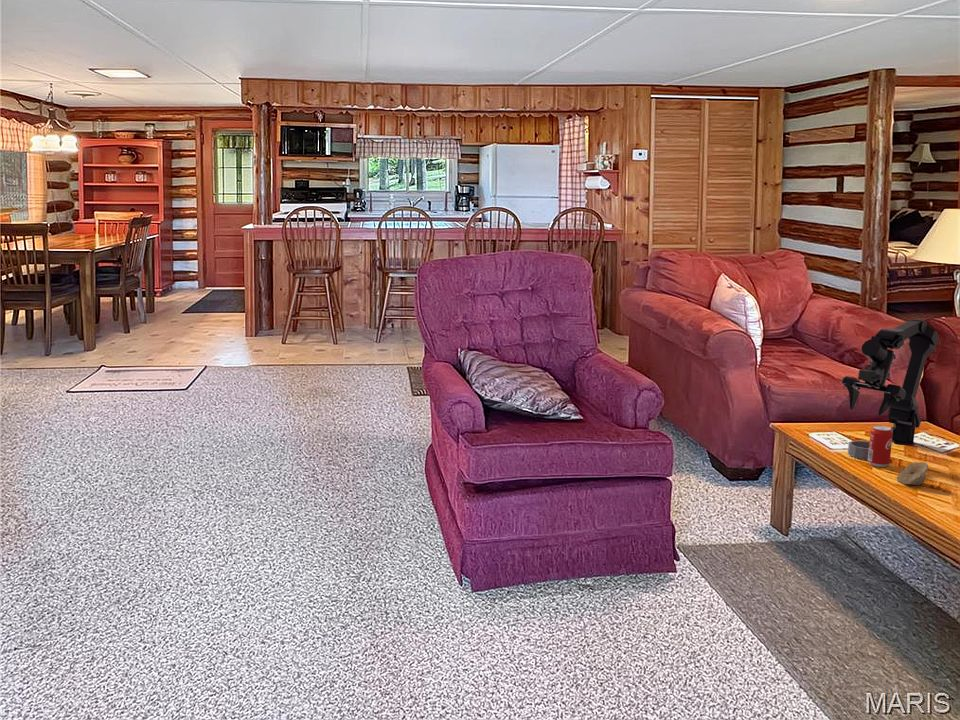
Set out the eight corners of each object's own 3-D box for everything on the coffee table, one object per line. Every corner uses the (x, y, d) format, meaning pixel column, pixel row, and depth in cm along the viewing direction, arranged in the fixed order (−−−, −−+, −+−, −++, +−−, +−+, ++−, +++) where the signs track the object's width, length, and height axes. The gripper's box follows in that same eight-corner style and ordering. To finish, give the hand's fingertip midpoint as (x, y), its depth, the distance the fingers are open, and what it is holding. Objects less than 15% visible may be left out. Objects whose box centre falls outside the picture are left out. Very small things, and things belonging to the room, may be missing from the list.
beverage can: (891, 468, 277) (895, 431, 275) (869, 466, 278) (873, 429, 276) (886, 462, 283) (890, 425, 281) (865, 461, 284) (869, 424, 282)
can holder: (875, 453, 293) (876, 441, 293) (882, 461, 284) (883, 449, 284) (845, 451, 295) (846, 439, 294) (851, 459, 286) (852, 447, 285)
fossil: (910, 458, 268) (932, 462, 258) (920, 469, 268) (942, 473, 259) (890, 479, 267) (911, 483, 257) (900, 490, 267) (921, 494, 257)
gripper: (842, 353, 289) (826, 398, 287) (900, 363, 275) (884, 410, 273) (856, 365, 296) (841, 409, 294) (913, 375, 282) (897, 421, 281)
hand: (864, 412), depth 285 cm, fingers open, 9 cm apart
